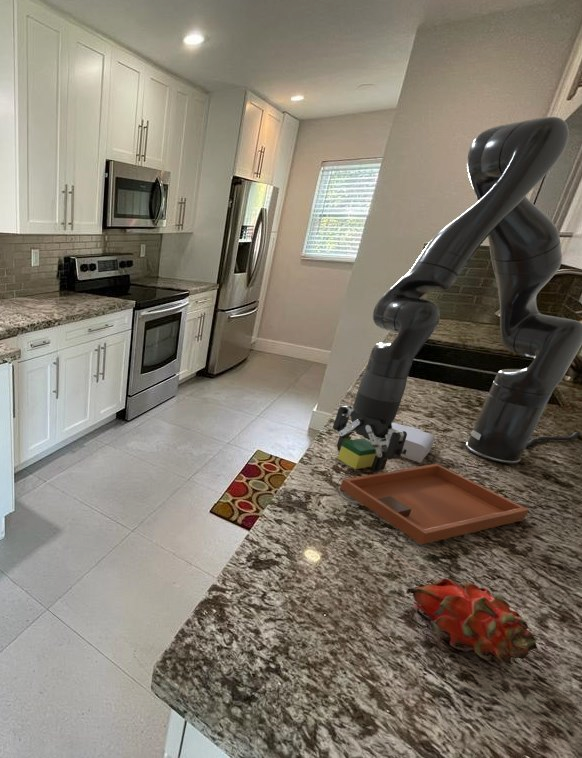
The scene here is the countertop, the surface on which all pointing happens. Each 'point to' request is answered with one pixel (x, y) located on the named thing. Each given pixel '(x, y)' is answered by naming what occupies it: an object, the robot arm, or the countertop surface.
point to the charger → (414, 442)
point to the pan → (434, 502)
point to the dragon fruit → (474, 619)
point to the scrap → (396, 505)
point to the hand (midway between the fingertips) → (357, 460)
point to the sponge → (357, 453)
